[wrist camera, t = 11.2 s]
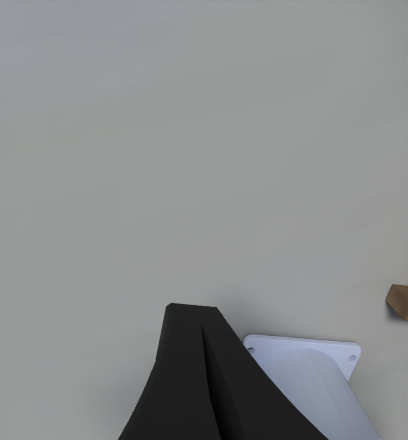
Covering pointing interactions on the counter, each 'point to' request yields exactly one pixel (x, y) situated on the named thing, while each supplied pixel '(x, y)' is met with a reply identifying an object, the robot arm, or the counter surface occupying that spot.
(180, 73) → the counter surface
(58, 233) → the counter surface
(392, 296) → the walnut frame
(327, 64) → the counter surface
